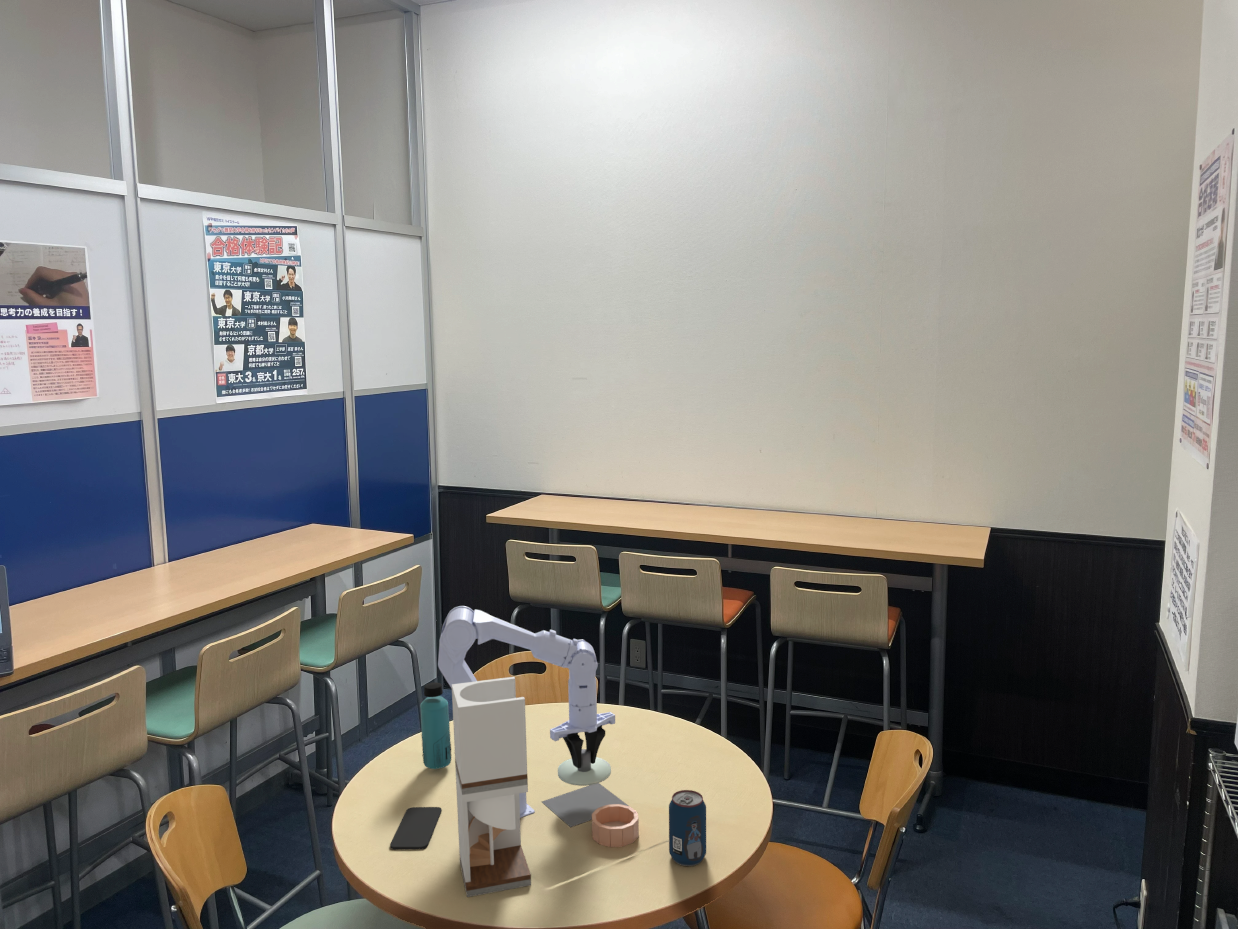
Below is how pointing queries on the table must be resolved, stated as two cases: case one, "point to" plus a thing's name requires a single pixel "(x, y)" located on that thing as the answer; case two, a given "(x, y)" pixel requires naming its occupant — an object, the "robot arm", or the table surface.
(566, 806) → the mat
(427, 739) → the beverage bottle
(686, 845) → the soda can
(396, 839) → the phone
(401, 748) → the table surface
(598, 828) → the bowl
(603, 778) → the lid
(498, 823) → the coffee maker
